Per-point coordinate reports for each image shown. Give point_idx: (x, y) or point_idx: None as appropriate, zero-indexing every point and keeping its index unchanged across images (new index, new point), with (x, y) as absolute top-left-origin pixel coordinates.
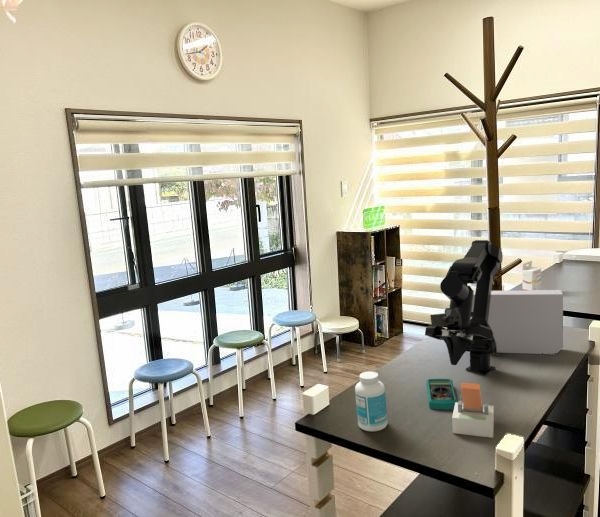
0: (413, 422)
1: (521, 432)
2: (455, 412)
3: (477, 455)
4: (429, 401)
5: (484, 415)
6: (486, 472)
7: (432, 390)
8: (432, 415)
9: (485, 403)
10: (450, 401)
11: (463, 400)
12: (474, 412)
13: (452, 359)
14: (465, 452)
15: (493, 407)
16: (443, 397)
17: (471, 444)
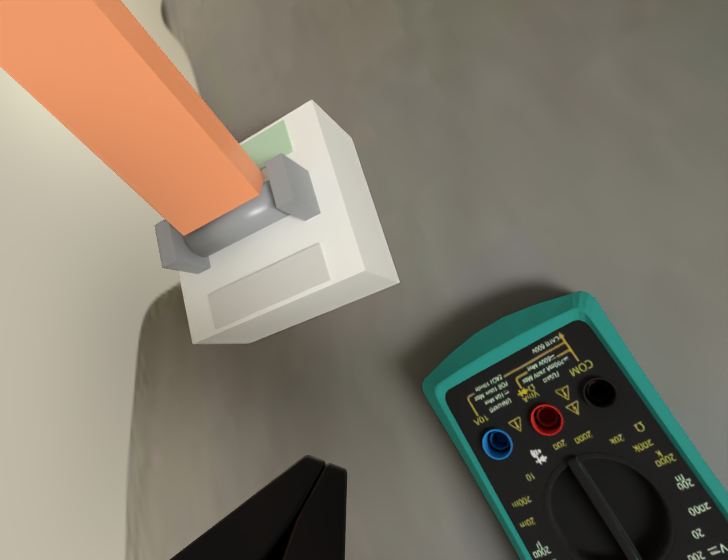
0: (573, 91)
1: (156, 309)
2: (318, 158)
3: (229, 71)
4: (589, 298)
5: None
6: (186, 15)
7: (675, 485)
8: (519, 227)
9: (171, 257)
10: (454, 361)
11: (197, 98)
12: None
13: (292, 504)
14: (264, 57)
15: (189, 324)
16: (525, 398)
17: (265, 117)
